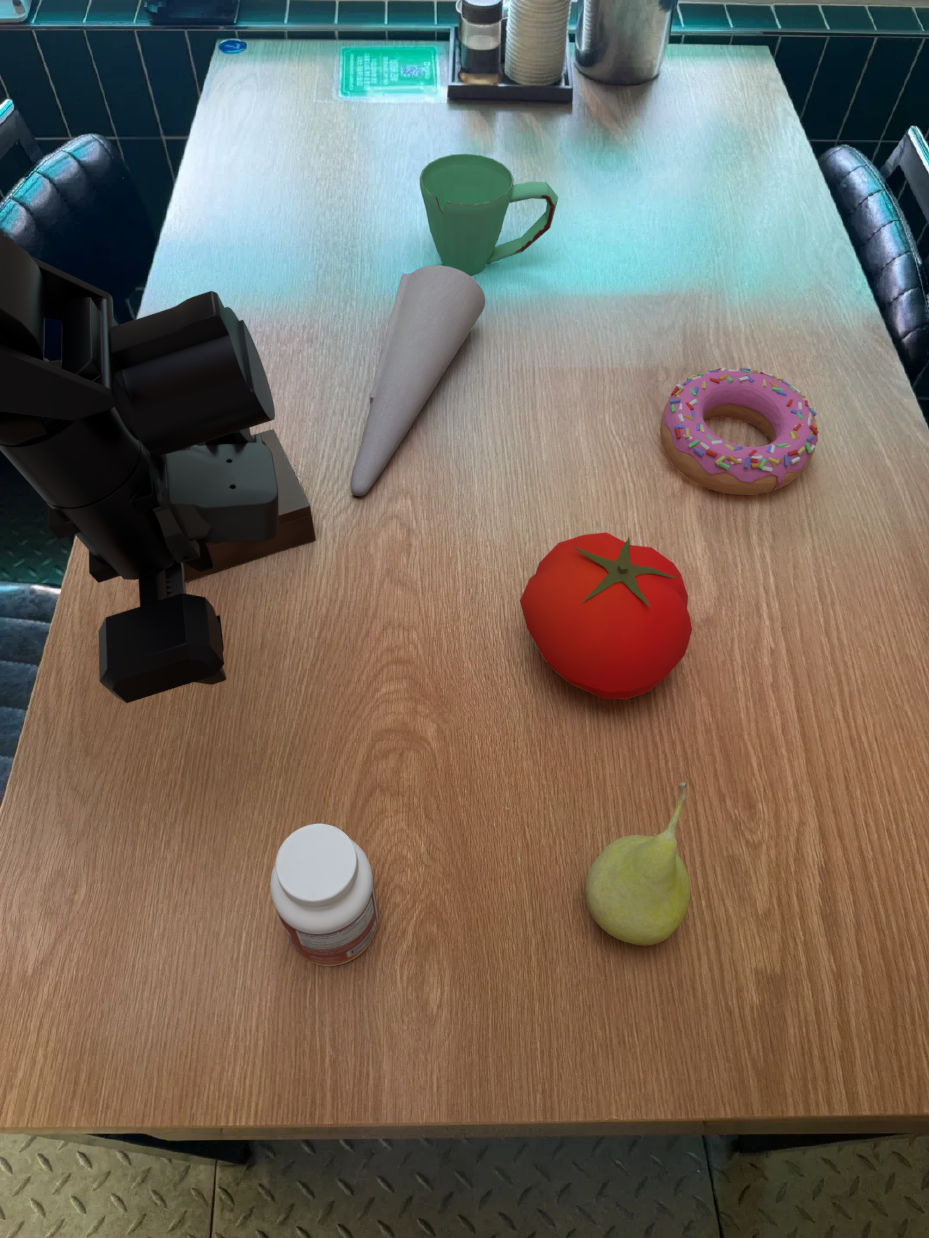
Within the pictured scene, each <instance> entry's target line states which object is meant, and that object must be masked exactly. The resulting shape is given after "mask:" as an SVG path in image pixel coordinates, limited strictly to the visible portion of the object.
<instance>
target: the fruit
mask: <svg viewBox="0 0 929 1238" xmlns="http://www.w3.org/2000/svg"><path fill="white" fill-rule="evenodd" d="M687 793H688V784H687V783H686V782H684V781H682V782H679V783H678V797H677V800H676V805H675V808H674V811H673V813H672V816H671V818H670V820H669V822H668V825H667V827H666V828H665V830H664V831H662V832H661V833H658V834H657V835H655V836H653V835H646V834H645V835H644V834H629V835H625V836H622V837H619V838H617V839H614V840H613V841H611V842H610V843H609V844H607V845H606V846H605V847H604V848H603V849H602V850H601V852H599V854H598V856H597V857H596V858H595V859H594V861H593V863H592V864H591V866H590V868H589V870H588V871H587V875H586V878H585V885H584V893H585V895H584V896H585V902H586V906H587V909H588V911H589V913H590V916H591V917H592V918H593V920H594V921H595V922H596V924H597V925H598V926H599V927H600V928H601V929H602V930H603V931H605V932H606V933H607V934H608V935H610V936H611V937H613V938H615V939H617V940H619V941H622V942H625V943H628V944H632V945H636V946H646V947H647V946H653V945H657V944H659V943H662V942H665V940H667V939H668V938H669V937H670V936H671V935H672V934H673V933H675V931H676V930H677V928H678V927H679V926H680V925H681V924H682V922H683V920H684V919H685V917H686V915H687V912H688V909H689V905H690V900H691V881H690V877H689V873H688V870H687V867H686V866H685V863H684V862H683V860H682V858H681V857H680V855H679V854H678V852H677V848H678V844H677V838H676V833H675V832H676V827H677V824H678V822H679V818H680V816H681V812H682V810H683V808H684V805H685V802H686V798H687V797H686V796H687Z"/></svg>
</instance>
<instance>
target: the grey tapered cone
mask: <svg viewBox="0 0 929 1238" xmlns="http://www.w3.org/2000/svg"><path fill="white" fill-rule="evenodd" d="M395 295H396V296H395V299H394V303H393V306H392V311H391V315H390V318H389V323H388V327H387V330H386V334H385V338H384V342H383V346H382V349H381V352H380V356H379V361H378V364H377V368H376V372H375V377H374V379H373V384H372V387H371V388H372V389H371V391H370V395H369V404H370V405H369V406H370V408H369V412H368V415H367V418H366V422H365V425H364V429H363V432H362V437H361V440H360V445H359V449H358V452H357V456H356V459H355V461H354V464H353V466H352V472H351V477H350V492H351V493H352V495H353V496H356V497H362V496H365V495H366V494H367V493H368V492H369V491H370V490H371V488H372V486H373V485H374V484H375V482H376V481H377V479H378V478H379V476H380V475H381V473H382V471H383V470H384V469H385V467H386V466H387V464H388V463H389V462H390V460H391V458H392V456H393V455H394V454H395V452H396V450H397V449H398V447H399V445H400V444H401V443H402V441H403V439H404V437H405V436H406V434H407V433H408V431H409V430H410V428H411V426H412V425H413V423H414V422H415V420H416V418H417V417H418V415H419V413H420V412H421V410H422V409H423V408H424V406H425V404H426V402H427V400H428V399H429V397H430V396H431V394H432V393H433V391H434V390H435V388H436V386H437V384H438V383H439V381H440V380H441V378H442V377H443V375H444V374H445V372H446V370H447V369H448V367H449V366H450V364H451V363H452V361H453V359H454V358H455V356H456V354H457V353H458V351H459V349H460V348H461V346H462V345H463V343H464V342H465V340H466V338H467V337H468V336H469V334H470V333H471V331H472V330H473V327H474V326H475V324H476V323H477V321H478V320H479V318H480V316H481V315H482V313H483V312H484V309H485V306H486V296H485V292H484V290H483V288H482V287H481V285H480V284H479V283H478V282H477V280H476V279H474V278H473V276H469V275H468V274H466V273H464V272H462V271H460V270H458V269H455V268H452V267H448V266H443V265H440V264H439V265H438V264H437V265H427V266H423V267H419V268H418V269H416V270H414V271H412V272H411V273H402V274H401V276H400V280H399V284H398V288H397V291H396V294H395Z"/></svg>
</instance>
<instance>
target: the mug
mask: <svg viewBox="0 0 929 1238" xmlns="http://www.w3.org/2000/svg"><path fill="white" fill-rule="evenodd" d="M514 180H515V179H514V177H513V173H512V171H511V170H510V169H509V168H508V167H507V166H506V165H505V164H503V163H502V162H500V161H498V160H497V159H494V158H492V157H489V156H485V155H481V154H476V153H475V154H473V153H455V154H448V155H445V156H441V157H438V158H436V159H434V160H432V161H430V162H429V163H427V165H425V166H424V167H423V169H422V170H421V172H420V176H419V190H420V193H421V198H422V201H423V204H424V209H425V213H426V218H427V223H428V227H429V228H428V229H429V232H430V234H431V237H432V240H433V243H434V246H435V247H434V248H435V250H436V252H437V254H438V257H439V258H440V261H441V263H442V266H448V267H452V268H455V269H458V270H460V271H462V272H464V273H466V274H468V275H469V276H471V277H473V276H476V275H478V274H479V273H482V272H483V271H484V270H485V268H486V266H487V265H489V264H493V263H496V262H498V261H501V260H503V259H507V258H509V257H512V256H515V255H518V254H521V253H523V252H524V251H526V250H527V249H528V248H529V247H530V246H531V245H533V243H535V242H536V241H537V240H538V239H540V238H541V237H542V236H543V235H544V234H545V233H546V232H548V231H549V230H550V229H551V226H552V223H553V219H554V216H555V213H556V209H557V205H558V201H559V196H558V194H557V193H556V192H555V190H554V189H553V188H552V187H551V186H550V185H549V183H548V182H547V181H529V182H523V183H516V184H514V182H515V181H514ZM531 199H535V200H545V202H546V207H545V211H544V212H543V213H542V215H540V217H539V218H538V219H537V220H536V221H535V222H534V223H533V224H532V226H530V227H529V228H528V229H527V230H526V232H524V234H522V236H521V237H518V238H516V239H513V240H510V241H507V242H504V243H501V244H499V245H497V243H498V240H499V238H500V235H501V233H502V229H503V225H504V221H505V218H506V217H505V216H506V214H507V211H508V208H509V205H510V204H512V203H517V202H521V201H525V200H531Z"/></svg>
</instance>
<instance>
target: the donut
mask: <svg viewBox="0 0 929 1238" xmlns="http://www.w3.org/2000/svg"><path fill="white" fill-rule="evenodd" d="M817 415H818V413H817V412H816V410H815V409H814V408H813V407H810V405H809V401H808V400H807V399H806V395H804V394H802V391H800V390H799V389H798V388H796V387H795V386H792V384H790V383H788V382H787V381H785V380H784V378H783V377H781V376H775V375H773V374H771V373H768V372H766V371H760V372H758V369H756V368H754V369H751V368H746V367H740V368H739V369H727V367H724V366H723V367H720V368H716V369H711V370H707V372H704V373H703V372H700V371H698V372H697V373H696V374H695V373H694V374H692V375H690V376H687V378H686V380H685V381H683V383H681V384H679V383H677V384H675V386H674V388H673V390H672V391H671V393H670V396H669V398H668V400H667V402H666V404H665V406H664V408H663V411H662V413H661V419H660V424H659V425H660V427H659V435H660V441H661V445H662V448H663V452H664V453H665V455H666V457H667V458H668V461H669V462H670V463H671V465H673V467H674V468H675V469H676V470H677V471H678V472H679V473H680V474H681V475H683V476H684V477H685V478H687V479H688V480H690V481H691V482H694V483H695V484H697V485H699V486H701V487H703V488H706V489H708V490H711V491H714V492H718V493H722V494H729V495H736V496H752V495H762V494H766V493H770V492H775V491H776V490H778V489H781V488H783V487H784V486H786V485H788V484H790V483H791V482H793V481H794V480H795V479H796V478H798V477H799V476H800V475H801V474H802V473H803V472H804V471H805V469H806V468H807V467H808V465H809V464H810V463H811V461H812V459H813V456H814V453H815V450H816V446H817V443H818V442H819V439H818V437H819V431H818V425H817V420H816V418H815V417H816V416H817ZM715 418H730V419H736V420H740V421H743V422H746V423H749V424H750V425H753V426H754V427H756V428H757V429H759V430H760V431H761V432H763V433H764V434H765V435H766V436H767V438H768V439H769V440H770V443H769V444H765V445H762V446H743V445H739V444H735V443H732V442H729V441H727V440H725V439H724V438H721V436H720V437H719V436H718V435H717V434H715V433H714V432H713V431H712V430H711V429H710V428H709V426H708V425H707V424H706V422H705V421H707V420H710V419H715Z"/></svg>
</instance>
